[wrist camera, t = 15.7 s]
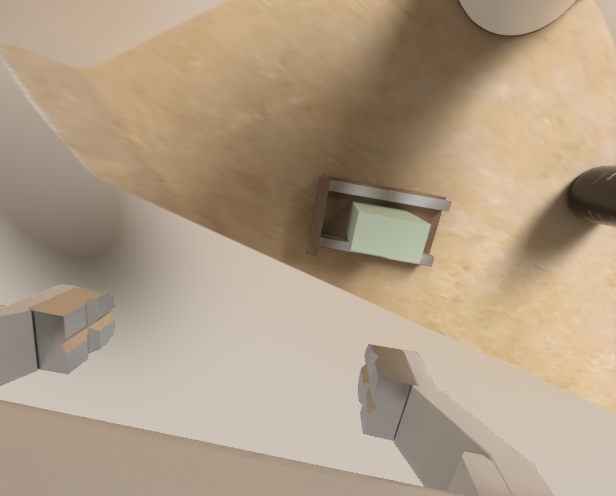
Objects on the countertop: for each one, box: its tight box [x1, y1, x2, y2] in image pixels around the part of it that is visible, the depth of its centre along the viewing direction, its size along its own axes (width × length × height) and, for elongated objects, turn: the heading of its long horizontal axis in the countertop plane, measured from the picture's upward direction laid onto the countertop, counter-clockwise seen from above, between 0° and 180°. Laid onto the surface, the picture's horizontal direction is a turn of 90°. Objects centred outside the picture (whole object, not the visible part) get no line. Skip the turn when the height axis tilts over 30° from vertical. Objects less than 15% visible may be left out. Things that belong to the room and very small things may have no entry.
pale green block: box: [345, 201, 431, 263], centre depth 33 cm, size 7×4×10 cm, turn 80°
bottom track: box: [307, 176, 451, 267], centre depth 36 cm, size 16×9×6 cm, turn 80°
